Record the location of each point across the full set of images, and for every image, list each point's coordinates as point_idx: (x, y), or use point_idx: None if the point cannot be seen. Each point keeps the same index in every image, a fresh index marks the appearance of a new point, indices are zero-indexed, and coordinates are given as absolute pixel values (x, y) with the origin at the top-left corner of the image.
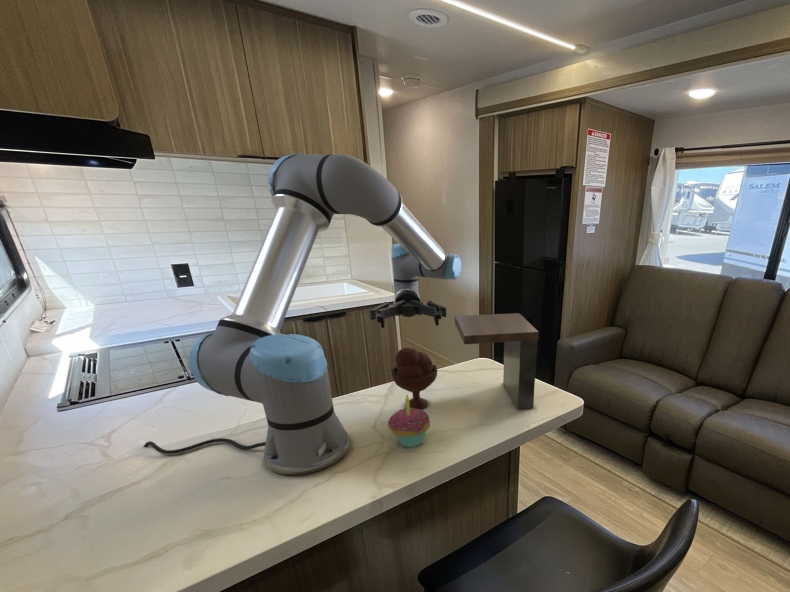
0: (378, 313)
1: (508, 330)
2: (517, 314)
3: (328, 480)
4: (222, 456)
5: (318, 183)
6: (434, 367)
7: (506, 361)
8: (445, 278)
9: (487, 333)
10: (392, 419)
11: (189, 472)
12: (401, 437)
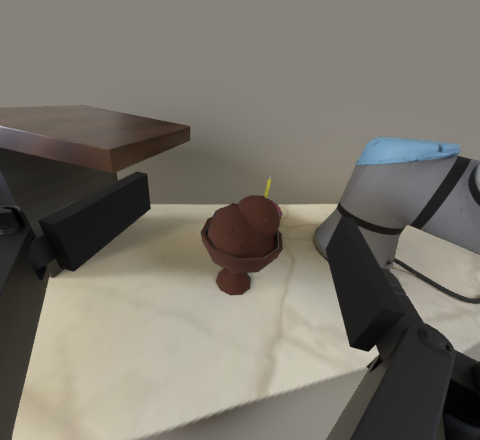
0: (410, 320)
1: (113, 113)
2: None
3: (319, 222)
4: (433, 276)
5: None
6: (206, 227)
7: None
8: None
9: (153, 119)
10: (279, 208)
11: (440, 266)
12: None
